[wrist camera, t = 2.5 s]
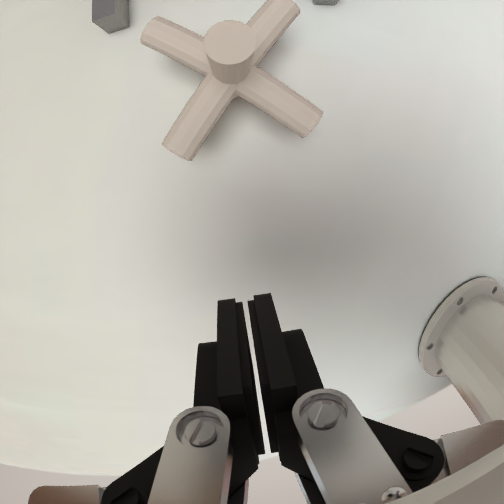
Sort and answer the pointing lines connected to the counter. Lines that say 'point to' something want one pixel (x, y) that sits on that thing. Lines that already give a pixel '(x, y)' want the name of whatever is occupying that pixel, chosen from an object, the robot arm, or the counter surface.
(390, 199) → the counter surface
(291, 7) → the pipe connector
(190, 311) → the counter surface
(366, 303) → the counter surface
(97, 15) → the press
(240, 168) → the counter surface
